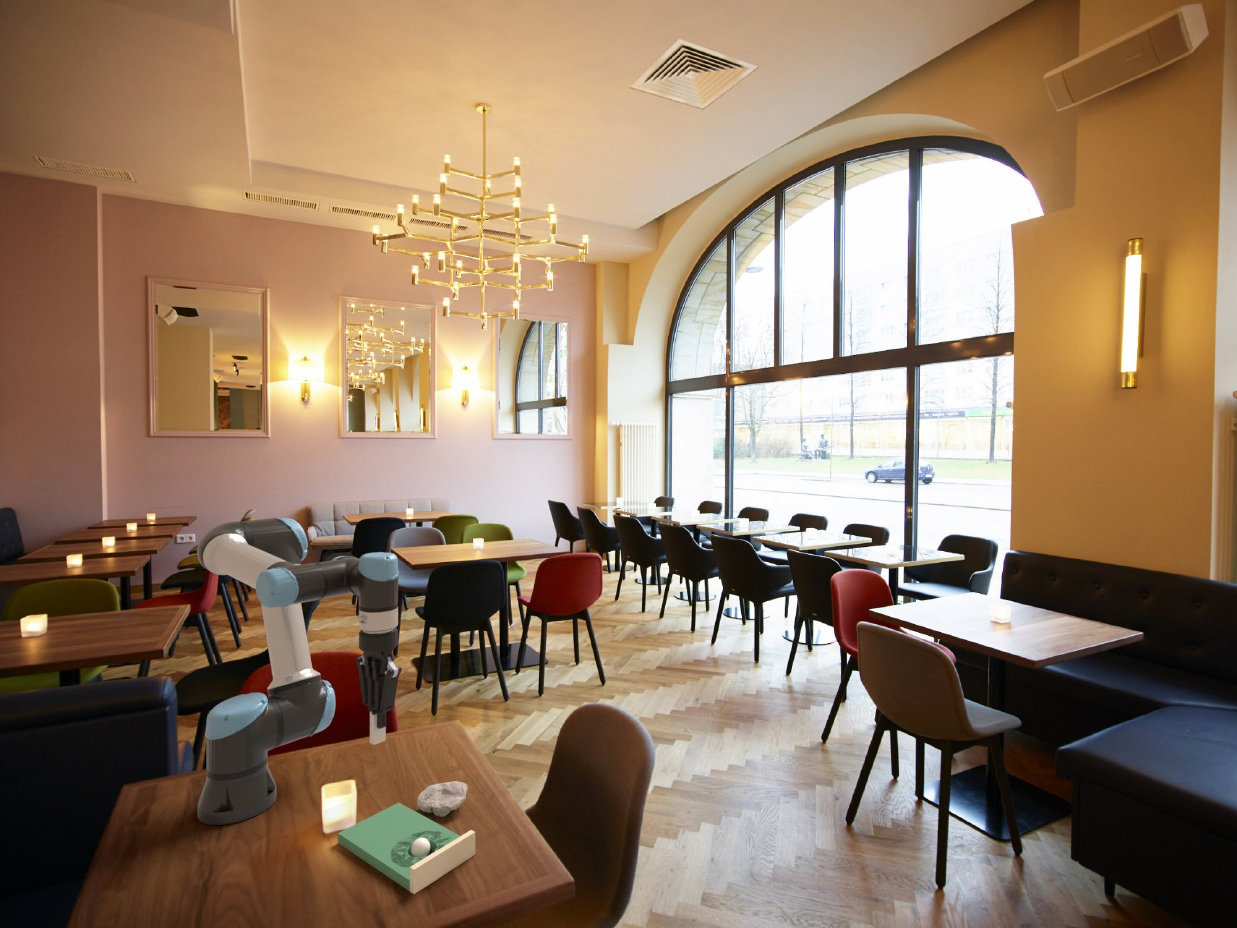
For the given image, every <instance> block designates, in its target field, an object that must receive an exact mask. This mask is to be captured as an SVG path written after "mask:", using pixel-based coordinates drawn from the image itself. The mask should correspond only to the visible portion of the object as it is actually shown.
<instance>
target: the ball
mask: <svg viewBox="0 0 1237 928" xmlns="http://www.w3.org/2000/svg"><path fill="white" fill-rule="evenodd" d="M430 851H431V850H430V843H429V841H428V840H427V839H426V838H418V839H417V840H415V841H414V843H413V844H412V846H411V854H412V855H411V856H412V857H418V858H421V857H425V856H428V855H429V854H430Z"/></svg>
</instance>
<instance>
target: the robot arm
mask: <svg viewBox="0 0 1237 928" xmlns="http://www.w3.org/2000/svg"><path fill="white" fill-rule="evenodd" d="M308 547H309V546H308V538H307V535H306V532H305V530H304V529H303V527H302V525H301V524H300V523H299V522H298V521H296V520H295V519H292V518H288V517H287V518H286V517H285V518H284V517H283V518H278V517H274V518H262V519H254V520H253V519H252V520H244V521H228V522H225V523H220V524H219V525H216V526H214V527H213V528H210V530H208V531H207V532H205V534H204V535H203V536H202V537H201V538H200V540H199V542H198V545H197V549H196V555H197V559H198V561H199V563H200V565H201V566H202V567H203V568H204V569H206V570H207V571H209V572H211V573H212V574H216V575H219V576H227V575H228V576H229V577H231V578H233V579H235V580H237V581H239V582H241V583H243V584H245V585H247V586H249V587H250V588H253V589H254V590H255V592H256V597H257V600H258V601H260V605H261V606H260V607H261V611H262V618H263V625H264V631H265V636H266V637H265V638H266V642H267V648H268V654H269V661H270V662H269V663H270V666H271V674H272V681H271V682H270V684H269V686H268V687H267V694H268V696H267V695H266V694H264V693H262V692H250V693H244V694H243V693H242V694H238V695H236V696H235V695H234V696H233V697H230V698H227V699H226V700H224V701H221V702H219V703H218V704H217V705H215V706H214V707H213V708H212V709H211V710H210V711H209V713H208V714H207V717H206V729H205V732H204V736H205V744H206V748H205V749H206V753H205V754H206V778H205V783H204V785H203V788H202V792H201V794H200V797H199V800H198V802H197V808H196V809H197V813H196V814H197V819H198V820H199V822H200V823H202V824H205V825H211V826H218V825H219V826H221V825H230V824H235V823H238V822H239V823H240V822H242V821H246V820H249V819H251V818H253V817H256V816H258V815H259V814H262V813H263V812H265V811H266V810H268V809H269V808H270V807H272V805H274V803H275V802H276V800H277V785H276V782H275V780H274V777H273V775H272V772H271V770H270V768H269V765H268V751H271V750H273V749H276V748H278V747H281V746H284V745H287V744H290V743H293V742H296V741H298V740H300V739H301V740H302V739H304V738H309V737H312V736H314V735H315V734H317V733H320V732H322V731H323V730H326V729H327V728H328V727H329V726H330V725H331V722H332V721H333V718H334V716H335V711H336V694H335V690H334V688H333V687H332V684H331V683H330V682H329V681H328V680H324V679H322V676H321V673H320V672H318V671H317V670H315V669H314V668H313V665H312V660H311V659H312V657H311V653H310V647H309V642H308V636H307V631H306V625H305V619H304V614H303V607H302V603H307V602H313V601H318V600H323V599H329V598H335V597H339V596H340V597H341V596H345V595H353V596H357V597H358V610H359V612H358V615H359V617H358V628H359V630H360V631H359V632H358V649H359V650H360V651H362V655H361V656H358V657H356V658H355V662H356V666H357V667H358V668H357V669H358V676H359V683H360V691H361V699H362V705H363V706H367V710H368V711H369V744H371V745H373V746H375V745H377V744H381V743H382V742H385V741H386V737H387V736H386V733H387V731H386V730H387V712H388V711H391V710H394V709H395V708H394V707H395V703H396V702H395V701H396V697H397V696H396V695H397V690H398V682H399V677H400V675H401V673H402V672H403V671H402V667H401V666H400V665H399V666H396V664H395V663H394V661H395V659H394V658H395V657H394V654H393V650H395V648H397V646H398V642H399V641H398V640H399V639H398V638H399V637H398V634H399V632H398V628H397V627H398V625H399V605H398V603H399V574H400V571H399V562H398V561H399V560H398V557H397V555H396V554H395V553H392V552H383V551H379V552H370V553H369V552H368V553H365V554H362V555H361V556H360V557H359V558H357V557H355V556H352V555H351V556H350V555H346V556H345V555H339V556H336V557H334V558H332V559H331V560H328V561H320V562H314V563H313V562H312V563H304V564H302V563H301V562H303V560H304V559H306V557H307V554H308Z"/></svg>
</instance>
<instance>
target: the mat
mask: <svg viewBox="0 0 1237 928" xmlns="http://www.w3.org/2000/svg"><path fill="white" fill-rule="evenodd" d="M418 838H426V839H427V840H428V841H429V843H430V851H432V852H431V853H429V854H428V855H427V856H425V857H421V858H418V857H413V856H412V854H411V846H412V844H413V843H414V841H415V840H417V839H418ZM337 843H338V844H339V845H340V846H342V847H343V848H345V849H347V851H349V852H350V853H352V854H353V855H355V856H356V857H358V858H359V859H361V860H362V861H364V862H365V863H367V864H369V866H371V867H373V868H374V869H376V870H377V871H379V872H381V873H382V874H383V875H385V876H386V877H387V878H389V879H391V880H392V881H393V882H396V883H397V884H398V885H399V886H401V887H402V888H404V889H405V890H407V891H408V892H410V893H411V894H412V895H416V893H419V892H420V891H421V890H423V889H424V888H426V887H428V886H429V885H431V884H432V883H434V882H435V881H437V880H439V879H440V878H441V877H443V876H445V875H446V874H447V873H449V872H451V871H452V870H454V869H455V868H457V867H459V866H460V865H461V864H463V863H465V862H466V861H468V860H469V859H471V858H472V857H474V856H475V855H476V831H474V830H473V829H470V830H468V831H467V832H465V833H464V834H462V835H460V834H457V833H456V832H454V831H452V830H450V829H448V828H446V826H445V827H444V826H443V825H441V824H440V823H437V822H436V821H434V820H432V819H430V818H428V817H426V816H425V815H422V814H421V813H419V812H417V811H415V810H414V809H412V808H410V807H408V806H406V805H404V804H402V803H401V802H397V803H395V804H393V805H391V806H389V807H387V808H385V809H383V810H381V811H379V812H377V813H376V814H373V815H371V816H369V817H367V818H365V819H363V820H361V821H359V822H357V823H356V824H354V825H351V826H350V827H347V828H346V829H344V830H342V831H339V832H338V833H337Z"/></svg>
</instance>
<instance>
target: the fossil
mask: <svg viewBox="0 0 1237 928" xmlns="http://www.w3.org/2000/svg"><path fill="white" fill-rule="evenodd" d="M468 790H469V788H468V785H467V784H466V783H465V782H462V781H456V780H454V781H448V782H442V783H436V784H435V783H434V784H431V785H428V786H426V788H424V789H423V791H422V792H420V793H419V794H418V796H417V797H416V800H417V807H418V809H419V810H421V811H422V812H423V813H429V814H430V813H433V814H434V816H436V817H440V818H443V817H446V816H447V815H449V814H450V813H451V811H454V810H457V809H458V808H459V807H460V806H461V805H462V804H463V803H464V802H465V801H466V799H467V794H468Z"/></svg>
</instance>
